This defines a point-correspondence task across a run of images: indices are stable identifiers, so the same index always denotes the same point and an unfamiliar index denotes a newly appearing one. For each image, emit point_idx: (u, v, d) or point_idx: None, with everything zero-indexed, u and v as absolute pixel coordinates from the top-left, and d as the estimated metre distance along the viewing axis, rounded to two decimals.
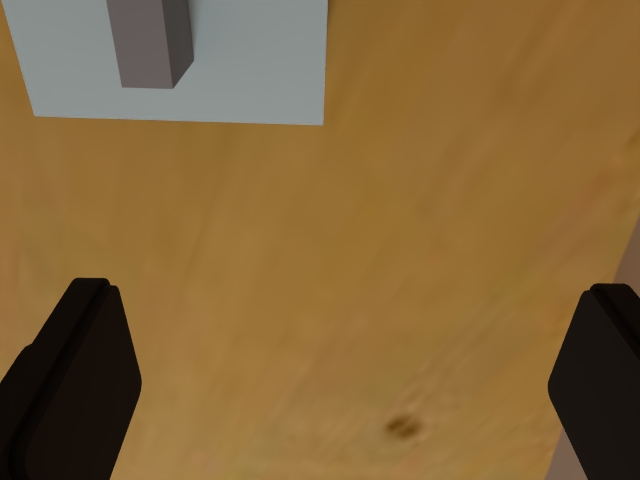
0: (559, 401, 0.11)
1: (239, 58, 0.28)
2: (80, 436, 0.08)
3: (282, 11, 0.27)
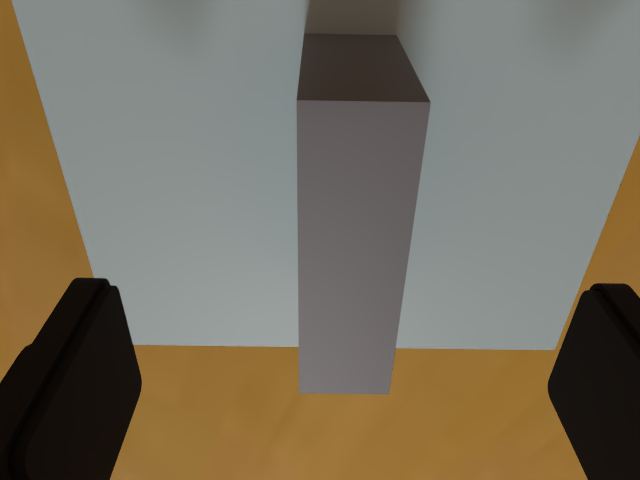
0: (559, 401, 0.11)
1: (446, 273, 0.18)
2: (80, 436, 0.08)
3: (534, 212, 0.16)
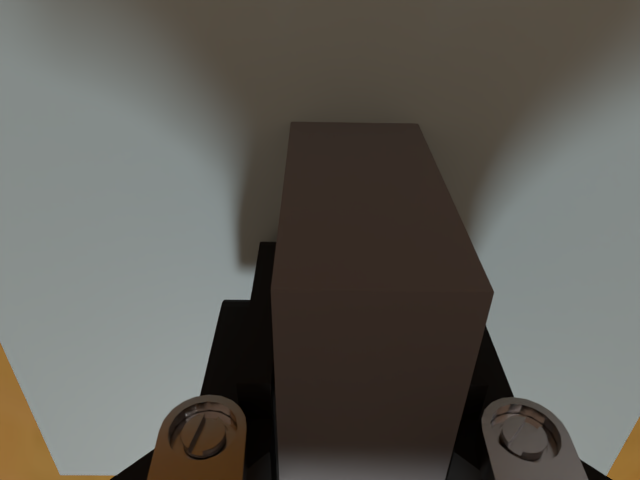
0: None
1: None
2: None
3: (591, 332, 0.13)
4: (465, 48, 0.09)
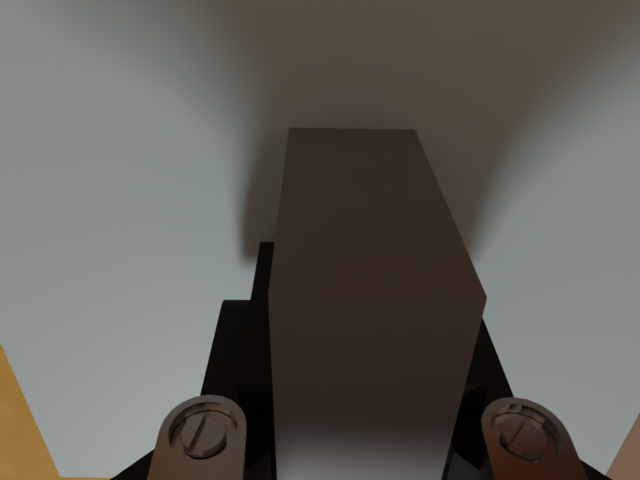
0: None
1: None
2: None
3: (587, 335, 0.13)
4: (461, 56, 0.09)
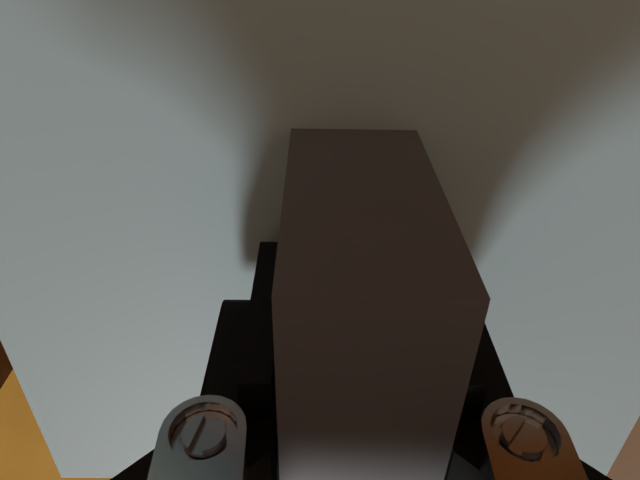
0: None
1: None
2: None
3: (588, 336, 0.13)
4: (463, 56, 0.09)
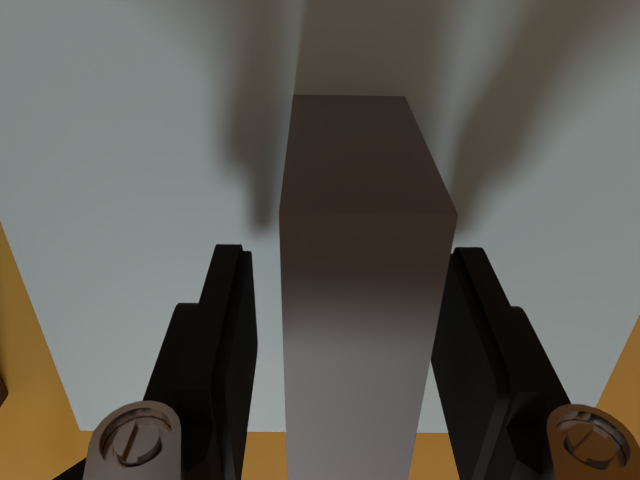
0: (433, 358, 0.12)
1: None
2: (240, 380, 0.09)
3: (564, 290, 0.14)
4: (445, 29, 0.10)
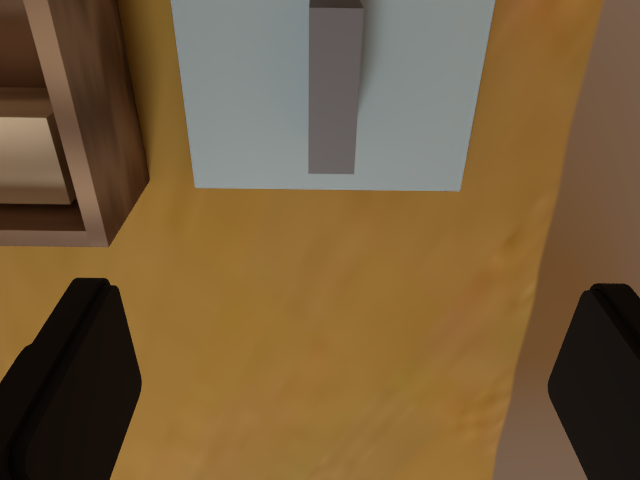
0: (559, 401, 0.11)
1: (391, 135, 0.31)
2: (80, 436, 0.08)
3: (436, 94, 0.30)
4: None
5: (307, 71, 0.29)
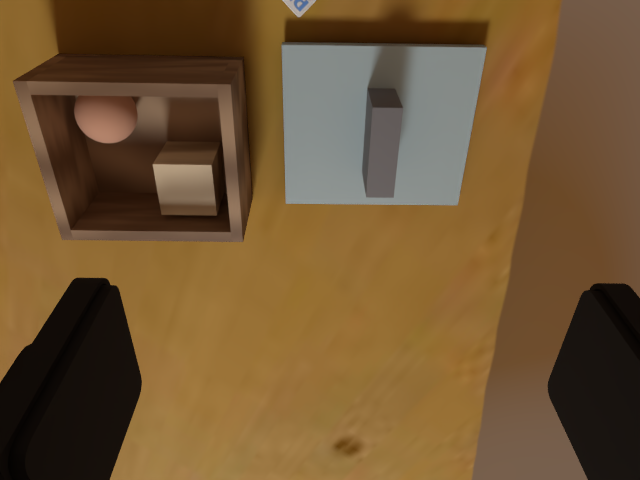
0: (559, 401, 0.11)
1: (413, 170, 0.49)
2: (80, 436, 0.08)
3: (442, 146, 0.47)
4: (404, 72, 0.44)
5: (362, 132, 0.47)
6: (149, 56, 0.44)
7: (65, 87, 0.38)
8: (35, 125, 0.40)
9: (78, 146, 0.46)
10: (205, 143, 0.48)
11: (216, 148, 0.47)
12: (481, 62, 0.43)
